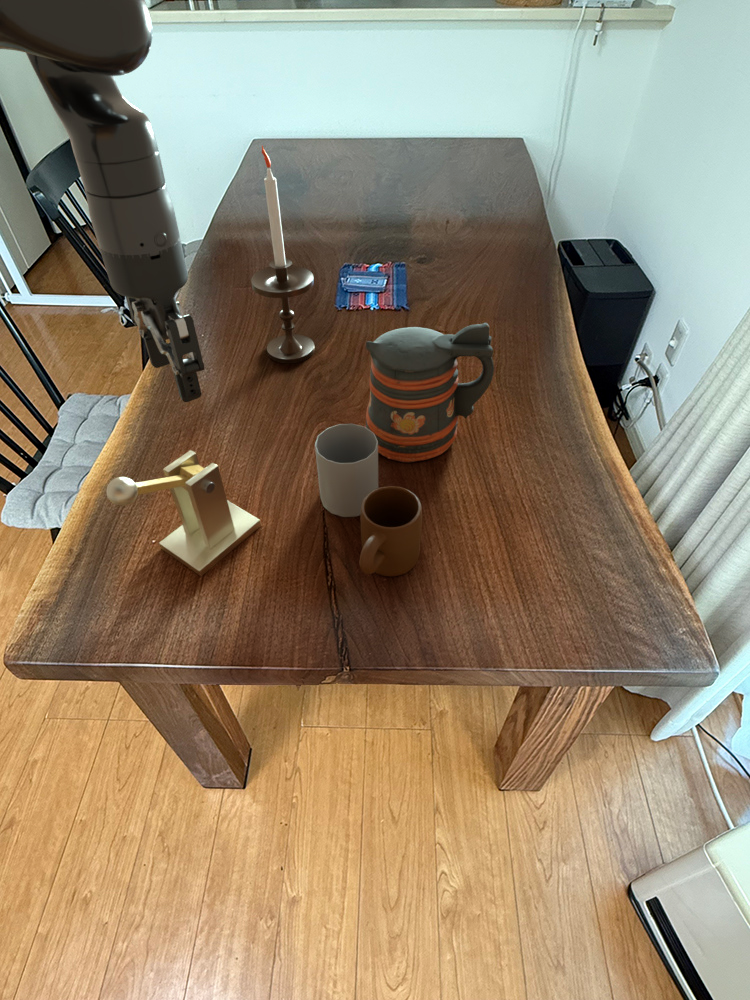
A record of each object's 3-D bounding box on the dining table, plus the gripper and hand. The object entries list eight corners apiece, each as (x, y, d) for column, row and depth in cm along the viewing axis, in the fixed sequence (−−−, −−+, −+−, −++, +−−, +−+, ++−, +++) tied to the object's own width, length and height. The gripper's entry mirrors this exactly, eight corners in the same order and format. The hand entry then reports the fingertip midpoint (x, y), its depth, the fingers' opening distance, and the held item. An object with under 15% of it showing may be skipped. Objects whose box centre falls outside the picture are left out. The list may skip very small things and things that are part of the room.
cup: (328, 473, 90) (323, 420, 83) (381, 479, 89) (381, 426, 82) (315, 513, 84) (308, 460, 77) (372, 520, 83) (371, 467, 76)
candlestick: (251, 356, 114) (214, 150, 89) (285, 331, 120) (259, 132, 95) (297, 372, 110) (273, 161, 85) (330, 345, 116) (316, 142, 91)
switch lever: (116, 513, 64) (120, 486, 63) (98, 500, 65) (101, 474, 64) (209, 493, 75) (213, 470, 74) (192, 482, 76) (196, 459, 75)
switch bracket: (201, 576, 77) (176, 507, 68) (160, 548, 80) (132, 479, 71) (261, 525, 83) (246, 455, 74) (221, 501, 86) (202, 432, 77)
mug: (393, 613, 72) (394, 565, 66) (337, 593, 75) (332, 544, 68) (427, 544, 80) (431, 494, 73) (375, 527, 82) (375, 478, 76)
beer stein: (477, 406, 102) (493, 295, 88) (487, 464, 91) (507, 348, 77) (366, 406, 102) (363, 295, 88) (364, 463, 92) (361, 348, 77)
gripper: (76, 222, 60) (122, 364, 71) (126, 271, 51) (169, 423, 63) (149, 207, 63) (182, 346, 74) (207, 251, 55) (234, 399, 66)
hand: (176, 381), depth 68 cm, fingers open, 8 cm apart
